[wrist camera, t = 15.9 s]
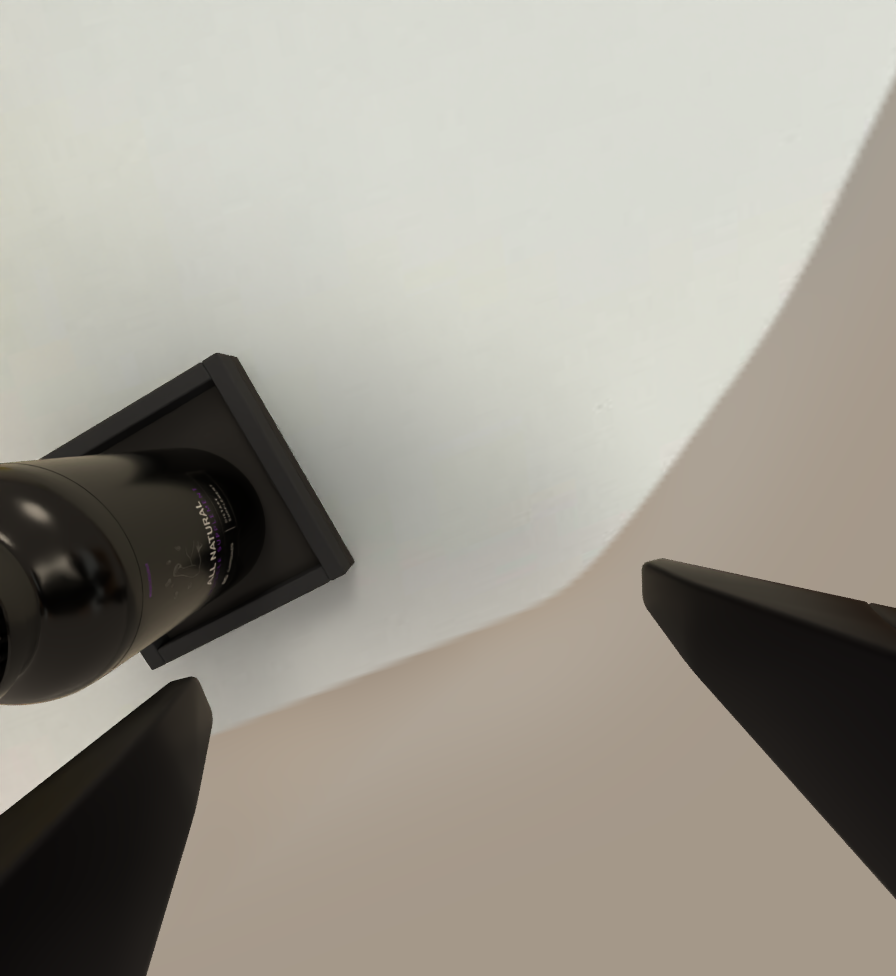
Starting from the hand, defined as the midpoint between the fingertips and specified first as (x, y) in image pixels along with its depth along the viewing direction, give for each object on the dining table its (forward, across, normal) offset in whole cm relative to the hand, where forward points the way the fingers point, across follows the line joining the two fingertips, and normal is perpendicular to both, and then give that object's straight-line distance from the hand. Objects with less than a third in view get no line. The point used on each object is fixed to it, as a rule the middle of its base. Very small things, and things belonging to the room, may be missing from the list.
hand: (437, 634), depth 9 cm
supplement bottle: (+14, +9, 0) cm, 16 cm away
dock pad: (+14, +9, 0) cm, 17 cm away
